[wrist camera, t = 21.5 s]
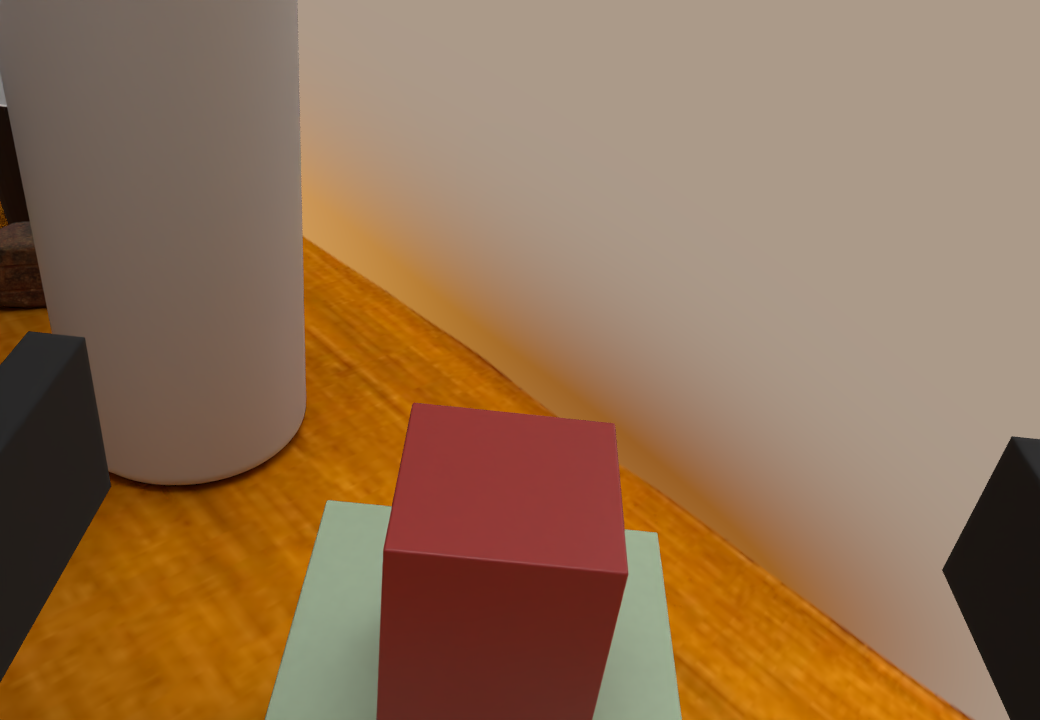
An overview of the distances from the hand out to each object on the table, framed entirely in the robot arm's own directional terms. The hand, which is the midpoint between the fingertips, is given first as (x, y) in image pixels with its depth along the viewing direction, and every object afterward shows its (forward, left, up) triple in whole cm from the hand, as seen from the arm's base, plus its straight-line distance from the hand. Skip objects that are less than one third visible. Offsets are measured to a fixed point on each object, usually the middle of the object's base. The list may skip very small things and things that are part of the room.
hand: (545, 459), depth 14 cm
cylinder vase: (-32, -17, -26) cm, 44 cm away
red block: (-9, 0, -17) cm, 19 cm away
